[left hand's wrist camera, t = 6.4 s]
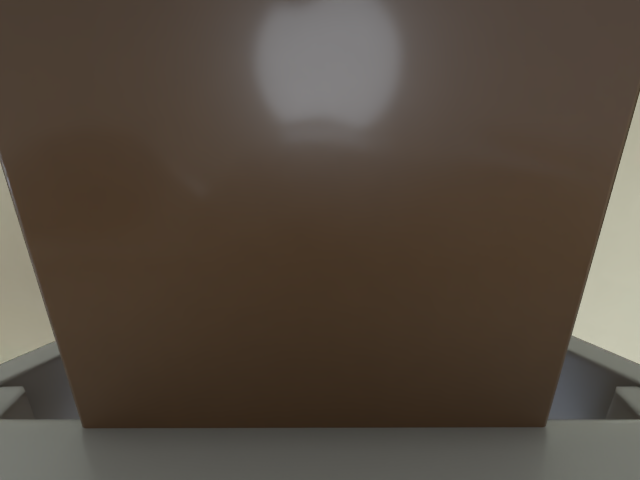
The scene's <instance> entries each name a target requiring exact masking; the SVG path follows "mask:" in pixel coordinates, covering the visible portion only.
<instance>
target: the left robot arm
mask: <svg viewBox="0 0 640 480" xmlns="http://www.w3.org/2000/svg"><path fill="white" fill-rule="evenodd" d="M0 480H640V364H638V363H635V362H633V361H631V360H628V359H626V358H624V357H621V356H619V355H617V354H614V353H612V352H609V351H607V350H605V349H602V348H600V347H598V346H595V345H593V344H591V343H588V342H586V341H584V340H581V339H579V338H577V337H574V336H572V335H571V338H570V342H569V345H568V349H567V353H566V356H565V360H564V363H563V367H562V370H561V374H560V378H559V381H558V385H557V388H556V392H555V395H554V399H553V403H552V406H551V410H550V413H549V417H548V420H547V424H546V426H545V427H460V428H83V427H82V424H81V421H80V417H79V414H78V411H77V408H76V405H75V401H74V398H73V395H72V392H71V388H70V385H69V382H68V379H67V375H66V372H65V369H64V366H63V363H62V359H61V356H60V353H59V350H58V346H57V343H56V341H54V342H52V343H49V344H47V345H45V346H42V347H40V348H38V349H35V350H33V351H30V352H28V353H26V354H23V355H21V356H19V357H16V358H14V359H12V360H9V361H7V362H5V363H2V364H0Z"/></svg>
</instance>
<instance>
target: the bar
mask: <svg viewBox="0 0 640 480" xmlns="http://www.w3.org/2000/svg"><path fill="white" fill-rule="evenodd" d="M639 92H640V0H0V162H1V165H2V169H3V172H4V175H5V178H6V181H7V185H8V188H9V191H10V194H11V198H12V201H13V204H14V207H15V211H16V214H17V217H18V220H19V224H20V227H21V230H22V233H23V236H24V240H25V243H26V246H27V249H28V253H29V256H30V259H31V262H32V266H33V269H34V272H35V275H36V278H37V282H38V285H39V288H40V291H41V295H42V298H43V301H44V304H45V308H46V311H47V314H48V317H49V321H50V324H51V327H52V330H53V333H54V337H55V340H56V343H57V346H58V350H59V353H60V356H61V359H62V363H63V366H64V369H65V372H66V375H67V379H68V382H69V385H70V388H71V392H72V395H73V398H74V401H75V405H76V408H77V411H78V414H79V417H80V421H81V424H82V427H83V428H460V427H545V426H546V424H547V420H548V417H549V413H550V410H551V406H552V403H553V399H554V395H555V392H556V388H557V385H558V381H559V378H560V374H561V370H562V367H563V363H564V360H565V356H566V353H567V349H568V345H569V342H570V338H571V335H572V331H573V328H574V324H575V321H576V317H577V313H578V310H579V306H580V303H581V299H582V296H583V292H584V288H585V285H586V281H587V278H588V274H589V271H590V267H591V263H592V260H593V256H594V253H595V249H596V246H597V242H598V238H599V235H600V231H601V228H602V224H603V221H604V217H605V214H606V210H607V206H608V203H609V199H610V196H611V192H612V189H613V185H614V181H615V178H616V174H617V171H618V167H619V164H620V160H621V156H622V153H623V149H624V146H625V142H626V139H627V135H628V131H629V128H630V124H631V121H632V117H633V114H634V110H635V107H636V103H637V99H638V96H639Z"/></svg>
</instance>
